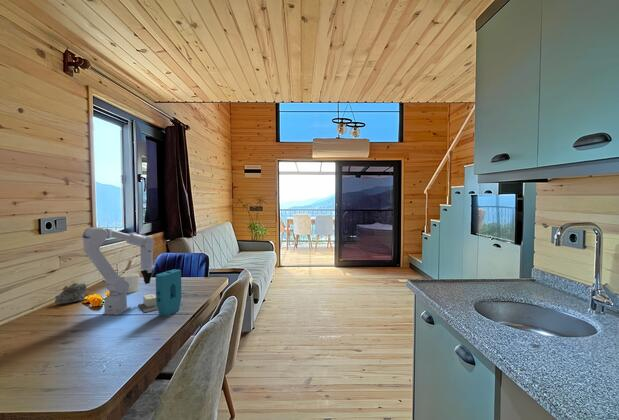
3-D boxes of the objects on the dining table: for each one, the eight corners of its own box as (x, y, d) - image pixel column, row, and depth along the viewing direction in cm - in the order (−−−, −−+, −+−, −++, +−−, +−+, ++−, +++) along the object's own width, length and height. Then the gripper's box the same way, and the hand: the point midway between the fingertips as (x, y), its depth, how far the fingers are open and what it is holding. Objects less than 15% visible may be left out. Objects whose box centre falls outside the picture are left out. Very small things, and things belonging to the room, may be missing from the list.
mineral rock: (53, 306, 152) (53, 287, 152) (61, 300, 162) (60, 282, 161) (84, 303, 157) (83, 284, 157) (89, 297, 167) (89, 279, 167)
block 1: (153, 300, 160) (157, 304, 154) (143, 302, 156) (146, 307, 150) (153, 293, 159) (157, 297, 153) (143, 295, 156) (146, 299, 150)
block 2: (163, 317, 138) (162, 275, 137) (155, 316, 140) (154, 275, 139) (182, 308, 149) (181, 270, 148) (175, 307, 151) (174, 269, 150)
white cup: (134, 293, 174) (134, 276, 173) (121, 293, 174) (121, 276, 174) (142, 289, 182) (142, 273, 181) (130, 289, 182) (129, 273, 181)
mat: (166, 308, 150) (166, 307, 150) (144, 313, 144) (144, 312, 144) (159, 300, 161) (159, 300, 161) (138, 305, 154) (138, 304, 154)
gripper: (158, 259, 156) (158, 285, 157) (151, 255, 167) (152, 279, 168) (143, 261, 152) (143, 287, 152) (137, 257, 163) (138, 281, 163)
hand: (147, 283), depth 160 cm, fingers closed
